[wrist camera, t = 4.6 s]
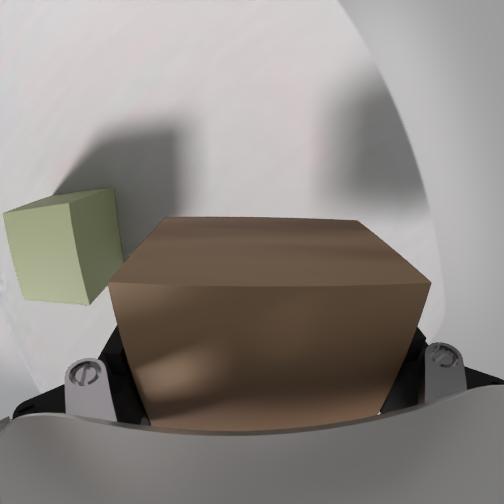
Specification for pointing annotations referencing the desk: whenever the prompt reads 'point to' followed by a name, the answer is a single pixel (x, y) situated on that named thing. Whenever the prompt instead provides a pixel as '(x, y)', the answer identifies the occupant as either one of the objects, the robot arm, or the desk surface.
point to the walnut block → (264, 321)
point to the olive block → (65, 246)
